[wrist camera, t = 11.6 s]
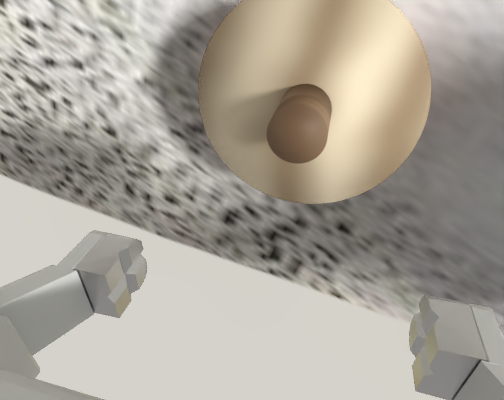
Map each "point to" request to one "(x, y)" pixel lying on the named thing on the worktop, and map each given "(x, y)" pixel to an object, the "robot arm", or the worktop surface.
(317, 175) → the lid
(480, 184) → the worktop surface
